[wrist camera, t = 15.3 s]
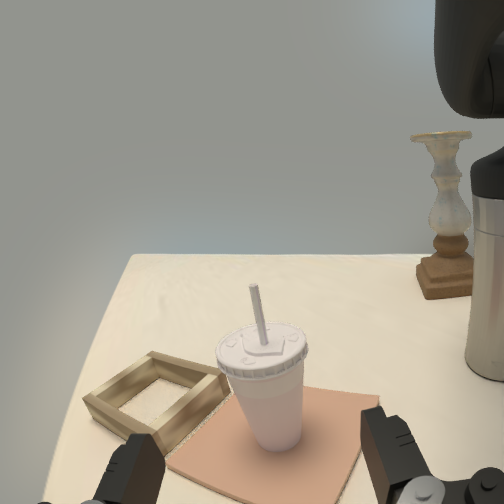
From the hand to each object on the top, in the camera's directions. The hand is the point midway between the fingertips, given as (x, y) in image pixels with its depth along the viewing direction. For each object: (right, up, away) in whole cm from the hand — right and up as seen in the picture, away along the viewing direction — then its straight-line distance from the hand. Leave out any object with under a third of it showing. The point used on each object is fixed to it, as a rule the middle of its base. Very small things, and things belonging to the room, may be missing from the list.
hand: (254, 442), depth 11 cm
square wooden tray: (-10, -10, +20) cm, 25 cm away
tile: (+2, -9, +14) cm, 17 cm away
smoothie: (+2, -8, +13) cm, 16 cm away
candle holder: (+32, +2, +35) cm, 48 cm away
